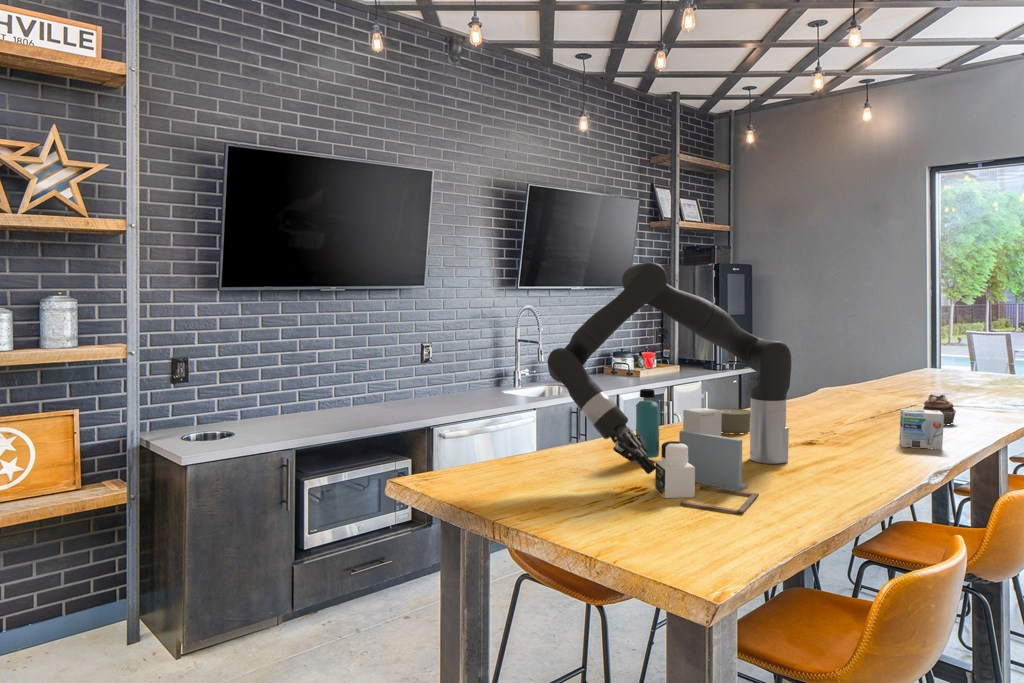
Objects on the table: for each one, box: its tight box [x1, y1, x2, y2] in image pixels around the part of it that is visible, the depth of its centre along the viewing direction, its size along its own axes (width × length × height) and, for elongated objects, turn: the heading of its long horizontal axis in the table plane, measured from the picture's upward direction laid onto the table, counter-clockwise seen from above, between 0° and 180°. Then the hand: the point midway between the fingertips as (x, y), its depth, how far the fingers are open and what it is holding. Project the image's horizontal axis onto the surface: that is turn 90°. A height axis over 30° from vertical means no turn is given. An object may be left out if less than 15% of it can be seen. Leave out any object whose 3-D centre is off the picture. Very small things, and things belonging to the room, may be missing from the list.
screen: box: [678, 429, 748, 491], centre depth 165 cm, size 16×7×12 cm, turn 43°
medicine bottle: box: [654, 440, 696, 499], centre depth 157 cm, size 7×7×12 cm
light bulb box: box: [898, 408, 944, 450], centre depth 204 cm, size 11×7×11 cm, turn 68°
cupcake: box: [922, 394, 957, 424], centre depth 240 cm, size 10×10×10 cm
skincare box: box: [682, 407, 722, 436], centre depth 181 cm, size 8×7×16 cm
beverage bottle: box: [634, 388, 661, 459], centre depth 189 cm, size 6×7×20 cm
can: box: [714, 408, 750, 434], centre depth 229 cm, size 12×12×7 cm
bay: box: [679, 485, 760, 516], centre depth 152 cm, size 13×15×1 cm
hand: (652, 471), depth 160 cm, fingers closed
